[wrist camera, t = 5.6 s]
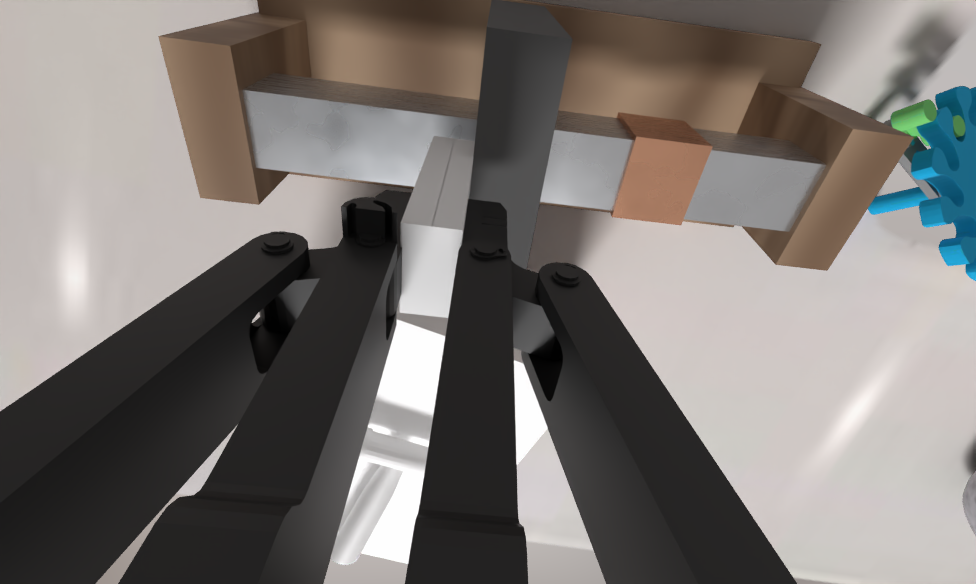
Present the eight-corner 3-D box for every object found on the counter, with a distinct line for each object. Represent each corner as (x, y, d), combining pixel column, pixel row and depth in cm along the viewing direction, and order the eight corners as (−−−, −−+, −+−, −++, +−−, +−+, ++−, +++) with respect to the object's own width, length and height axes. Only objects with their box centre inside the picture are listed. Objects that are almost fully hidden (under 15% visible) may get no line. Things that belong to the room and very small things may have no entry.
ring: (470, 203, 27) (457, 311, 19) (491, -2, 21) (486, 27, 13) (511, 208, 27) (516, 317, 19) (544, 6, 21) (572, 39, 13)
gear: (1076, 170, 25) (1036, 320, 23) (938, 198, 31) (892, 322, 28) (972, 18, 23) (911, 168, 20) (842, 79, 28) (781, 203, 25)
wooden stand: (285, 166, 28) (211, 239, 21) (256, -39, 22) (140, -35, 15) (729, 220, 29) (804, 305, 22) (814, 41, 23) (951, 79, 16)
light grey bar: (259, 143, 22) (224, 170, 19) (245, 62, 20) (204, 80, 17) (777, 206, 23) (815, 241, 20) (814, 138, 21) (861, 165, 18)
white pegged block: (566, 294, 33) (590, 417, 24) (440, 476, 47) (426, 598, 38) (370, 216, 30) (315, 326, 21) (295, 437, 44) (243, 560, 35)
